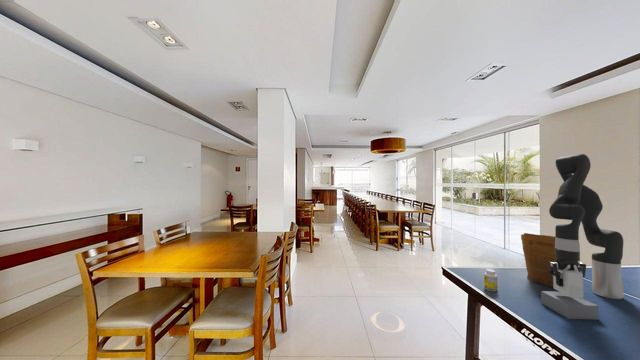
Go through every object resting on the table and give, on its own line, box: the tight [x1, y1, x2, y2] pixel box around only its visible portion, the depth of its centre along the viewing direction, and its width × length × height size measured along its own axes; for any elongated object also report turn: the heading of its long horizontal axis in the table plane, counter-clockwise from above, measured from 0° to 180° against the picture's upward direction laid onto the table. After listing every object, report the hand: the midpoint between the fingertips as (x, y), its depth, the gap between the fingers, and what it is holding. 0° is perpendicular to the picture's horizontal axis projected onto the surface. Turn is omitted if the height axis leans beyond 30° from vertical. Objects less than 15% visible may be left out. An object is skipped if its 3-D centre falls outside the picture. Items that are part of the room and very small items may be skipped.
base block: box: [540, 290, 600, 320], centre depth 99 cm, size 12×12×6 cm
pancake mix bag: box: [520, 232, 557, 289], centre depth 126 cm, size 7×19×28 cm, turn 27°
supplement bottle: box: [483, 268, 498, 292], centre depth 119 cm, size 6×6×10 cm
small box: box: [553, 269, 584, 299], centre depth 100 cm, size 8×6×10 cm
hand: (567, 285), depth 100 cm, fingers closed on small box, 6 cm apart
